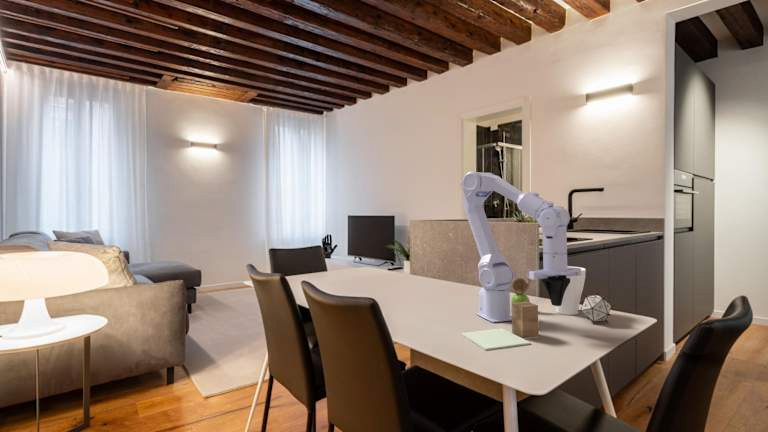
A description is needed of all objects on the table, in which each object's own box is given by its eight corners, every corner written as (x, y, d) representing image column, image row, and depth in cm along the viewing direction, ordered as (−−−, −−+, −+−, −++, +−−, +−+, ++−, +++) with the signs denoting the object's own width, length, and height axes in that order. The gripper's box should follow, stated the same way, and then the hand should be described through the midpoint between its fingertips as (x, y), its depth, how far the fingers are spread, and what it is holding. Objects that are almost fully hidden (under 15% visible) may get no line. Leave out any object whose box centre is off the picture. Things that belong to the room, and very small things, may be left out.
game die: (604, 336, 106) (623, 313, 100) (573, 325, 107) (590, 301, 102) (600, 314, 113) (618, 291, 107) (571, 303, 114) (587, 280, 109)
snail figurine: (535, 312, 119) (534, 273, 119) (514, 312, 119) (514, 274, 119) (529, 308, 124) (528, 271, 124) (509, 308, 125) (508, 271, 124)
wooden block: (512, 333, 99) (511, 302, 99) (527, 331, 101) (526, 301, 100) (522, 339, 95) (522, 307, 95) (538, 337, 96) (537, 305, 96)
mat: (461, 334, 100) (461, 333, 100) (502, 329, 103) (502, 328, 103) (485, 350, 88) (485, 348, 88) (530, 344, 91) (530, 342, 91)
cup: (569, 318, 111) (568, 272, 111) (541, 310, 121) (540, 267, 120) (594, 314, 115) (593, 269, 115) (565, 306, 125) (564, 265, 125)
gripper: (541, 256, 94) (542, 311, 94) (589, 252, 98) (591, 305, 98) (523, 253, 101) (525, 305, 101) (569, 250, 105) (571, 300, 105)
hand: (556, 305), depth 100 cm, fingers closed
